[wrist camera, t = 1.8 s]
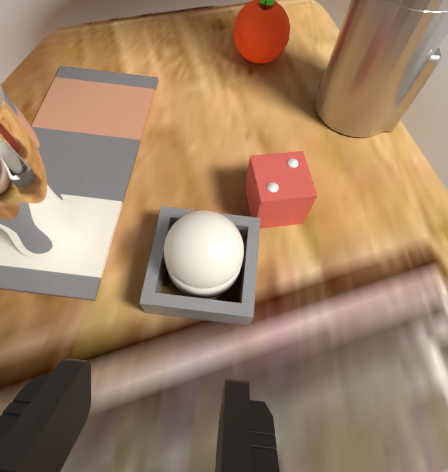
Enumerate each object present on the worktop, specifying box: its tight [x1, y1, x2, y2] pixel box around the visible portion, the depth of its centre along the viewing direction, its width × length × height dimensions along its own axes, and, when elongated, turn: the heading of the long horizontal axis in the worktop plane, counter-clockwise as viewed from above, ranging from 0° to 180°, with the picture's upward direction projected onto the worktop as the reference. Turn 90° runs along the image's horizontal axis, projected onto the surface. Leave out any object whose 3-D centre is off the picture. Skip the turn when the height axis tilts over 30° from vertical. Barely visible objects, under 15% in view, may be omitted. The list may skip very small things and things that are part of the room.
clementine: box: [233, 0, 290, 64], centre depth 43 cm, size 8×7×7 cm
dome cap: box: [164, 211, 244, 298], centre depth 28 cm, size 6×6×6 cm
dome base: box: [140, 206, 261, 326], centre depth 30 cm, size 9×9×3 cm
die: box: [245, 151, 317, 228], centre depth 33 cm, size 5×5×5 cm
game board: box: [0, 66, 158, 301], centre depth 36 cm, size 12×28×1 cm, turn 174°
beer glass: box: [0, 84, 81, 259], centre depth 26 cm, size 7×7×15 cm
